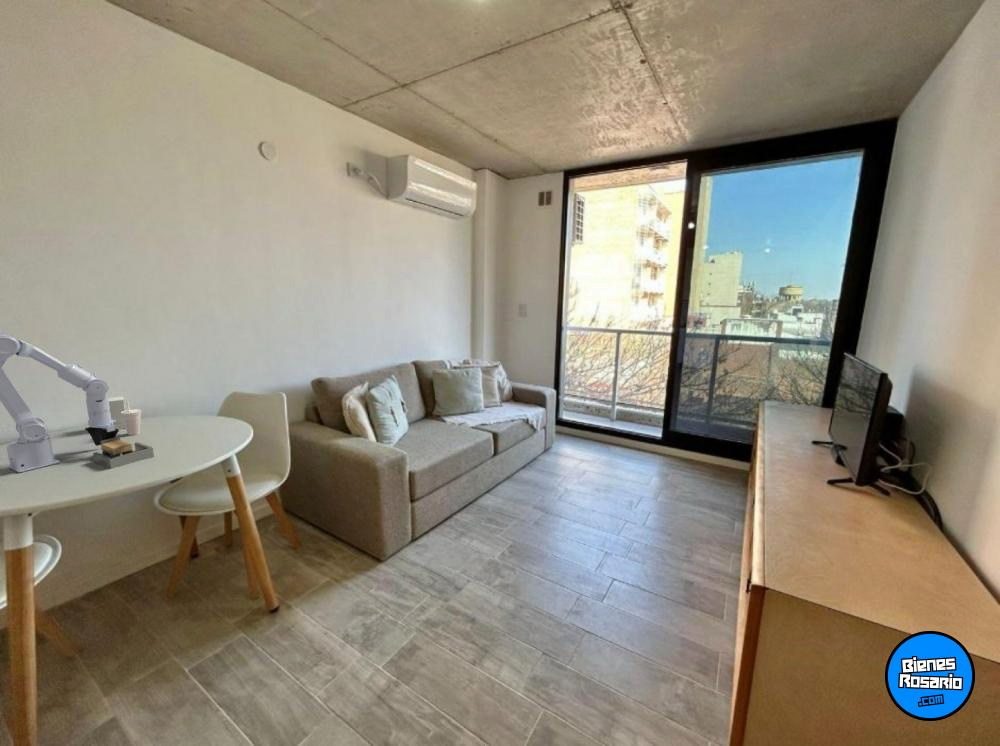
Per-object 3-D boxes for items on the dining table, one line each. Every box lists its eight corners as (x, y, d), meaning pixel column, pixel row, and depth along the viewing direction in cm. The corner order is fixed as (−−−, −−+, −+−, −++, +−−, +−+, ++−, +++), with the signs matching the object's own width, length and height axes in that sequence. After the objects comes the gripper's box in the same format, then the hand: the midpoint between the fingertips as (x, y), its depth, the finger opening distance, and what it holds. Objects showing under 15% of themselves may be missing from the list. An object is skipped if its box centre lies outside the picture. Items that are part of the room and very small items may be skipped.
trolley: (112, 461, 140) (110, 446, 139) (100, 456, 144) (98, 441, 142) (134, 455, 146) (132, 440, 144) (122, 450, 149) (120, 436, 148)
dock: (110, 468, 134) (108, 459, 134) (94, 461, 139) (92, 453, 138) (154, 456, 145) (153, 447, 145) (138, 450, 150) (137, 442, 149)
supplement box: (127, 428, 172) (123, 399, 170) (103, 431, 167) (99, 402, 165) (127, 423, 178) (123, 396, 175) (103, 427, 173) (99, 398, 170)
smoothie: (120, 434, 165) (115, 401, 162) (140, 430, 170) (135, 398, 168) (127, 437, 162) (123, 403, 159) (147, 433, 168) (143, 400, 165)
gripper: (123, 411, 146) (128, 446, 149) (103, 405, 152) (108, 439, 155) (97, 416, 140) (103, 453, 142) (78, 410, 146) (84, 445, 148)
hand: (104, 446), depth 148 cm, fingers open, 6 cm apart
